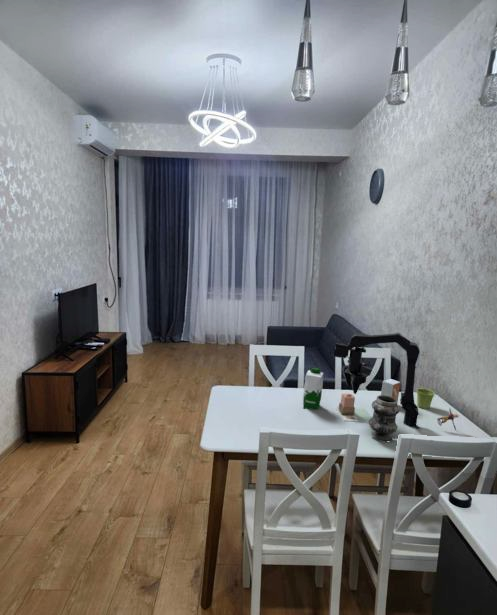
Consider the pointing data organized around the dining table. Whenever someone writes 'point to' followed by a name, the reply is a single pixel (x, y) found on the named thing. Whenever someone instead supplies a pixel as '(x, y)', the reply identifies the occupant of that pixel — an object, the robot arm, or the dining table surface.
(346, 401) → the pink knobbed block
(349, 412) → the walnut brick
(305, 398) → the milk carton
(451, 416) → the action figure
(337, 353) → the robot arm
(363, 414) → the board
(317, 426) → the dining table surface
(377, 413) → the ornate grey vase
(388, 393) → the small box
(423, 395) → the plant pot
